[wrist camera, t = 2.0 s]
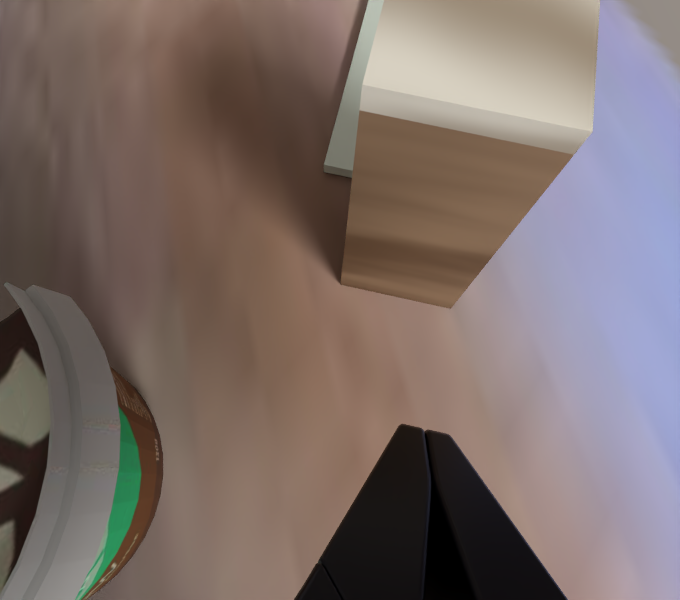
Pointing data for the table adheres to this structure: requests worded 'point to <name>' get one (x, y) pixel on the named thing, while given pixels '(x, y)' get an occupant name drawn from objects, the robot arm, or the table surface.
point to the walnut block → (462, 135)
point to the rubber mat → (352, 98)
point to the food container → (68, 455)
